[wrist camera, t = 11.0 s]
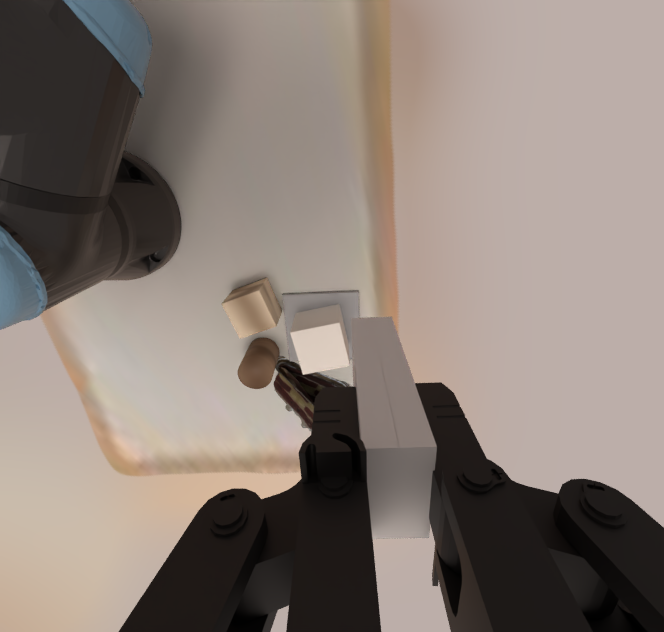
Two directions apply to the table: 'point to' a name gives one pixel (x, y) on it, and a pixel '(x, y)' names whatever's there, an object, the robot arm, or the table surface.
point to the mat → (318, 300)
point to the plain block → (320, 339)
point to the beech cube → (252, 308)
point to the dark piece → (301, 389)
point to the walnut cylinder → (259, 363)
